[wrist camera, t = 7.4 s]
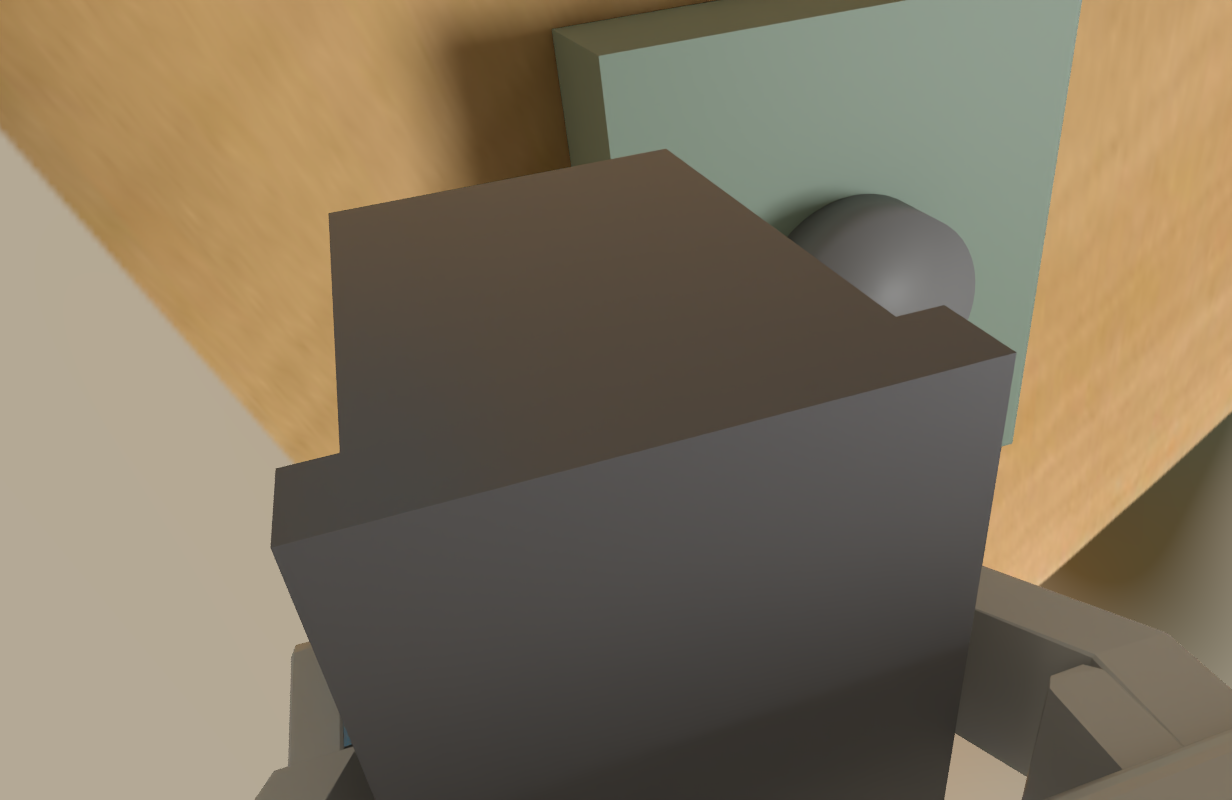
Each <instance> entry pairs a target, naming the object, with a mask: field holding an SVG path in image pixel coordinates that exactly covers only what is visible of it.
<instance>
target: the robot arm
mask: <svg viewBox="0 0 1232 800" xmlns="http://www.w3.org/2000/svg"><path fill="white" fill-rule="evenodd" d="M290 693H291V694H290V724H289V725H290V726H289V759H288V767H285V768H282V769H279V770H276V771H274V772H273V773H272V775H271V777H270V778H269V779H268V781H267V782H266V784H265V785H264V787H263V788H262V789H261V791H260V793H259V794H258V795H257V797H256V798H255V800H375V798H374V796H373V793H372V791H371V789H370V786H369V784H368V781H367V779H366V776H365V774H364V772H363V769H362V767H361V764H360V762H359V760H358V757H357V755H356V752H355V750H354V748H353V745H352V743H351V740H350V738H349V736H348V733H347V731H346V728H345V726H344V723H343V721H342V719H341V716H340V714H339V711H338V709H337V707H336V704H335V702H334V699H333V697H332V695H331V692H330V690H329V687H328V685H327V682H326V680H325V678H324V675H323V673H322V670H321V668H320V666H319V663H318V661H317V658H316V656H315V654H314V651H313V649H312V646H311V644H310V642H306V643H302V644H298V645H296V646H295V649H294V652H293V654H292V657H291V691H290ZM955 733H956V734H958V735H959V736H961V737H962V738H964V739H966V740H967V741H969V742H971V743H972V744H974V745H976V746H977V747H979V748H981V749H982V750H984V751H985V752H987V753H989V754H990V755H992V756H994V757H995V758H997V759H999V760H1000V761H1002V762H1004V763H1005V764H1007V765H1008V766H1010V767H1012V768H1013V769H1015V770H1017V771H1018V772H1020V773H1022V774H1023V775H1025V776H1027V780H1026V784H1025V788H1024V792H1023V797H1022V800H1232V689H1231V688H1230V687H1229V686H1227V685H1226V684H1225V683H1224V682H1223V681H1222V680H1220V679H1219V678H1218V677H1217V676H1216V675H1215V674H1214V673H1212V672H1211V671H1210V670H1209V669H1208V668H1207V667H1205V666H1204V665H1203V664H1202V663H1201V662H1200V661H1199V660H1197V659H1196V658H1195V657H1194V656H1193V655H1192V654H1191V653H1189V652H1188V651H1187V650H1186V649H1185V648H1184V647H1183V646H1181V645H1180V644H1179V643H1178V642H1177V641H1176V640H1174V639H1173V638H1172V637H1171V636H1170V635H1169V634H1168V633H1166V632H1163V631H1160V630H1158V629H1155V628H1152V627H1149V626H1146V625H1144V624H1141V623H1138V622H1135V621H1133V620H1130V619H1127V618H1125V617H1122V616H1119V615H1116V614H1114V613H1111V612H1108V611H1105V610H1103V609H1100V608H1097V607H1094V606H1092V605H1089V604H1086V603H1083V602H1080V601H1078V600H1075V599H1072V598H1070V597H1067V596H1064V595H1061V594H1058V593H1056V592H1053V591H1050V590H1048V589H1045V588H1042V587H1039V586H1037V585H1034V584H1031V583H1028V582H1026V581H1023V580H1020V579H1017V578H1015V577H1012V576H1009V575H1006V574H1004V573H1001V572H998V571H995V570H993V569H990V568H987V567H984V566H982V569H981V575H980V581H979V587H978V594H977V600H976V606H975V612H974V618H973V624H972V631H971V637H970V643H969V649H968V655H967V661H966V667H965V674H964V680H963V686H962V692H961V698H960V704H959V711H958V717H957V723H956V729H955Z"/></svg>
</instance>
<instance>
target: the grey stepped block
mask: <svg viewBox="0 0 1232 800" xmlns="http://www.w3.org/2000/svg"><path fill="white" fill-rule="evenodd" d="M329 232H330V253H331V274H332V296H333V317H334V338H335V359H336V380H337V401H338V422H339V443H340V453H338V454H334V455H330V456H325V457H321V458H317V459H313V460H309V461H305V462H301V463H297V464H293V465H289V466H285V467H281V468H276V473H275V489H274V503H273V520H272V535H271V550H272V552H273V555H274V557H275V559H276V562H277V564H278V566H279V569H280V572H281V574H282V576H283V579H284V581H285V584H286V586H287V588H288V591H289V593H290V596H291V598H292V600H293V603H294V605H295V608H296V610H297V612H298V615H299V617H300V620H301V622H302V624H303V627H304V629H305V632H306V634H307V637H308V639H309V642H310V644H311V646H312V649H313V651H314V654H315V656H316V658H317V661H318V663H319V666H320V668H321V670H322V673H323V675H324V678H325V680H326V682H327V685H328V687H329V690H330V692H331V695H332V697H333V699H334V702H335V704H336V707H337V709H338V711H339V714H340V716H341V719H342V721H343V723H344V726H345V728H346V731H347V733H348V736H349V738H350V740H351V743H352V745H353V748H354V750H355V752H356V755H357V757H358V760H359V762H360V764H361V767H362V769H363V772H364V774H365V776H366V779H367V781H368V784H369V786H370V789H371V791H372V793H373V796H374V798H375V800H944V797H945V790H946V784H947V778H948V772H949V766H950V760H951V754H952V747H953V741H954V735H955V729H956V723H957V717H958V711H959V704H960V698H961V692H962V686H963V680H964V674H965V667H966V661H967V655H968V649H969V643H970V637H971V631H972V624H973V618H974V612H975V606H976V600H977V594H978V587H979V581H980V575H981V569H982V563H983V557H984V551H985V544H986V538H987V532H988V526H989V520H990V514H991V507H992V501H993V495H994V489H995V483H996V477H997V471H998V464H999V458H1000V452H1001V446H1002V440H1003V434H1004V427H1005V421H1006V415H1007V409H1008V403H1009V397H1010V391H1011V384H1012V378H1013V372H1014V366H1015V360H1016V354H1017V352H1015V351H1014V350H1012V349H1011V348H1009V347H1008V346H1006V345H1005V344H1003V343H1001V342H1000V341H998V340H997V339H995V338H994V337H992V336H991V335H989V334H988V333H986V332H985V331H983V330H982V329H980V328H979V327H977V326H976V325H974V324H973V323H971V322H969V321H968V320H966V319H965V318H963V317H962V316H960V315H959V314H957V313H956V312H954V311H953V310H951V309H950V308H948V307H947V306H945V305H942V306H938V307H934V308H930V309H926V310H921V311H917V312H913V313H909V314H905V315H901V316H897V317H896V316H894V315H893V314H892V313H890V312H889V311H887V310H886V309H885V308H883V307H882V306H881V305H879V304H878V303H877V302H875V301H874V300H872V299H871V298H870V297H868V296H867V295H866V294H864V293H863V292H861V291H860V290H859V289H857V288H856V287H855V286H853V285H852V284H851V283H849V282H848V281H846V280H845V279H844V278H842V277H841V276H840V275H838V274H837V273H836V272H834V271H833V270H831V269H830V268H829V267H827V266H826V265H825V264H823V263H822V262H820V261H819V260H818V259H816V258H815V257H814V256H812V255H811V254H810V253H808V252H807V251H805V250H804V249H803V248H801V247H800V246H799V245H797V244H796V243H794V242H793V241H792V240H790V239H789V238H788V237H786V236H785V235H784V234H782V233H781V232H779V231H778V230H777V229H775V228H774V227H773V226H771V225H770V224H769V223H767V222H766V221H764V220H763V219H762V218H760V217H759V216H758V215H756V214H755V213H753V212H752V211H751V210H749V209H748V208H747V207H745V206H744V205H743V204H741V203H740V202H738V201H737V200H736V199H734V198H733V197H732V196H730V195H729V194H727V193H726V192H725V191H723V190H722V189H721V188H719V187H718V186H717V185H715V184H714V183H712V182H711V181H710V180H708V179H707V178H706V177H704V176H703V175H702V174H700V173H699V172H697V171H696V170H695V169H693V168H692V167H691V166H689V165H688V164H686V163H685V162H684V161H682V160H681V159H680V158H678V157H677V156H676V155H674V154H673V153H671V152H670V151H669V150H667V149H661V150H656V151H651V152H646V153H641V154H635V155H630V156H625V157H620V158H615V159H609V160H604V161H599V162H594V163H589V164H583V165H578V166H573V167H568V168H562V169H557V170H552V171H547V172H542V173H536V174H531V175H526V176H521V177H516V178H510V179H505V180H500V181H495V182H490V183H484V184H479V185H474V186H469V187H464V188H458V189H453V190H448V191H443V192H438V193H432V194H427V195H422V196H417V197H411V198H406V199H401V200H396V201H391V202H385V203H380V204H375V205H370V206H365V207H359V208H354V209H349V210H344V211H339V212H333V213H329Z"/></svg>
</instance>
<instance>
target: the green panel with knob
mask: <svg viewBox="0 0 1232 800" xmlns="http://www.w3.org/2000/svg"><path fill="white" fill-rule="evenodd" d="M1081 3H1082V0H717V1H711V2H705V3H699V4H694V5H688V6H682V7H676V8H671V9H665V10H659V11H653V12H647V13H642V14H636V15H630V16H624V17H619V18H613V19H607V20H601V21H596V22H590V23H584V24H578V25H572V26H567V27H561V28H555V29H552V35H553V42H554V49H555V56H556V63H557V70H558V77H559V84H560V91H561V98H562V105H563V112H564V119H565V126H566V133H567V140H568V147H569V154H570V161H571V167H573V166H578V165H583V164H589V163H594V162H599V161H604V160H609V159H615V158H620V157H625V156H630V155H635V154H641V153H646V152H651V151H656V150H661V149H667V150H669V151H670V152H671V153H673V154H674V155H676V156H677V157H678V158H680V159H681V160H682V161H684V162H685V163H686V164H688V165H689V166H691V167H692V168H693V169H695V170H696V171H697V172H699V173H700V174H702V175H703V176H704V177H706V178H707V179H708V180H710V181H711V182H712V183H714V184H715V185H717V186H718V187H719V188H721V189H722V190H723V191H725V192H726V193H727V194H729V195H730V196H732V197H733V198H734V199H736V200H737V201H738V202H740V203H741V204H743V205H744V206H745V207H747V208H748V209H749V210H751V211H752V212H753V213H755V214H756V215H758V216H759V217H760V218H762V219H763V220H764V221H766V222H767V223H769V224H770V225H771V226H773V227H774V228H775V229H777V230H778V231H779V232H781V233H782V234H784V235H785V236H786V237H788V238H789V239H790V240H792V241H793V242H794V243H796V244H797V245H799V246H800V247H801V248H803V249H804V250H805V251H807V252H808V253H810V254H811V255H812V256H814V257H815V258H816V259H818V260H819V261H820V262H822V263H823V264H825V265H826V266H827V267H829V268H830V269H831V270H833V271H834V272H836V273H837V274H838V275H840V276H841V277H842V278H844V279H845V280H846V281H848V282H849V283H851V284H852V285H853V286H855V287H856V288H857V289H859V290H860V291H861V292H863V293H864V294H866V295H867V296H868V297H870V298H871V299H872V300H874V301H875V302H877V303H878V304H879V305H881V306H882V307H883V308H885V309H886V310H887V311H889V312H890V313H892V314H893V315H894V316H896V317H897V316H901V315H905V314H909V313H913V312H917V311H921V310H926V309H930V308H934V307H938V306H942V305H945V306H947V307H948V308H950V309H951V310H953V311H954V312H956V313H957V314H959V315H960V316H962V317H963V318H965V319H966V320H968V321H969V322H971V323H973V324H974V325H976V326H977V327H979V328H980V329H982V330H983V331H985V332H986V333H988V334H989V335H991V336H992V337H994V338H995V339H997V340H998V341H1000V342H1001V343H1003V344H1005V345H1006V346H1008V347H1009V348H1011V349H1012V350H1014V351H1015V352H1017V354H1016V360H1015V366H1014V372H1013V378H1012V384H1011V391H1010V397H1009V403H1008V409H1007V415H1006V421H1005V427H1004V434H1003V440H1002V446H1005V445H1008V444H1012V441H1013V435H1014V428H1015V422H1016V416H1017V409H1018V403H1019V397H1020V390H1021V384H1022V378H1023V371H1024V365H1025V359H1026V352H1027V346H1028V340H1029V333H1030V327H1031V321H1032V314H1033V308H1034V302H1035V295H1036V289H1037V282H1038V276H1039V270H1040V263H1041V257H1042V251H1043V244H1044V238H1045V232H1046V225H1047V219H1048V213H1049V206H1050V200H1051V194H1052V187H1053V181H1054V175H1055V168H1056V162H1057V156H1058V149H1059V143H1060V137H1061V130H1062V124H1063V117H1064V111H1065V105H1066V98H1067V92H1068V86H1069V79H1070V73H1071V67H1072V60H1073V54H1074V48H1075V41H1076V35H1077V29H1078V22H1079V16H1080V10H1081ZM1002 446H1001V447H1002Z"/></svg>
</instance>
